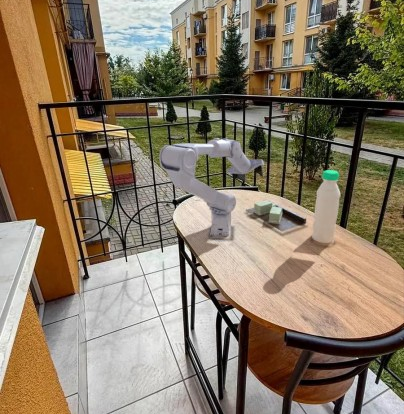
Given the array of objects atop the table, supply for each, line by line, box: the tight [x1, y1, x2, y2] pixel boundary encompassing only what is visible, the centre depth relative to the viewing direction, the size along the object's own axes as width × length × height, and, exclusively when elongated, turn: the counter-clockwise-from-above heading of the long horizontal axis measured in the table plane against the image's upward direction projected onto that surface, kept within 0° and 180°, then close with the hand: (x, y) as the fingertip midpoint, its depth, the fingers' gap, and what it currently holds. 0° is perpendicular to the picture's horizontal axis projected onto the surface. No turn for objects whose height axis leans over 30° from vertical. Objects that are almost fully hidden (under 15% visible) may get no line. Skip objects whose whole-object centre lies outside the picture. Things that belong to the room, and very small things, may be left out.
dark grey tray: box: [245, 199, 307, 232], centre depth 112 cm, size 12×22×4 cm, turn 28°
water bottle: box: [311, 169, 341, 245], centre depth 92 cm, size 7×7×25 cm
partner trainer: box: [253, 199, 277, 216], centre depth 116 cm, size 9×4×4 cm, turn 118°
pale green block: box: [269, 207, 282, 224], centre depth 110 cm, size 9×4×4 cm, turn 158°
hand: (253, 176), depth 115 cm, fingers open, 7 cm apart
